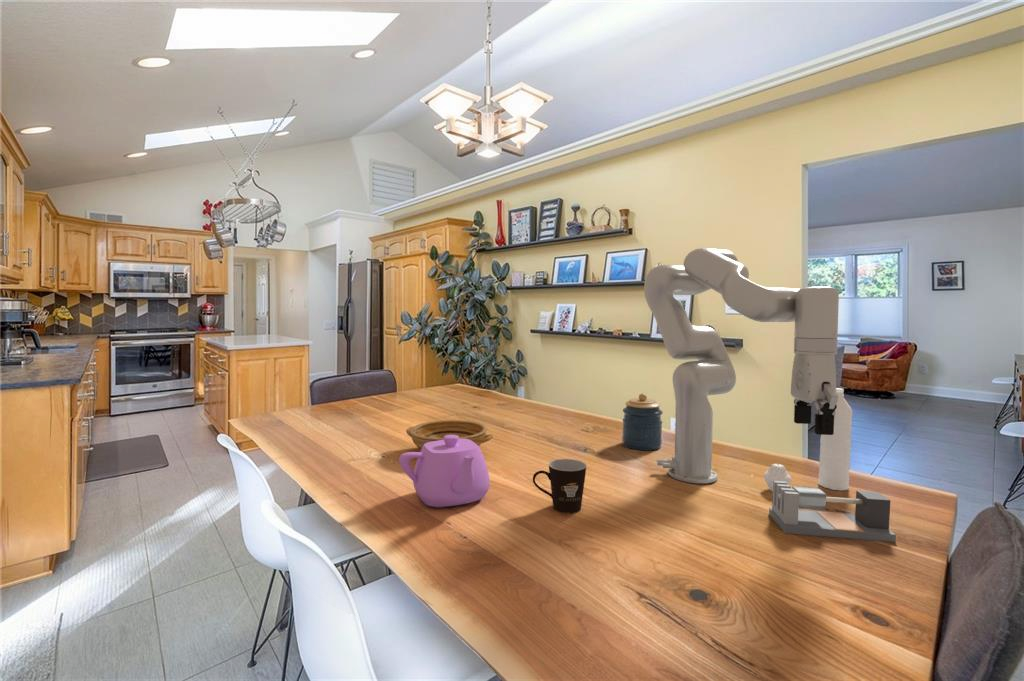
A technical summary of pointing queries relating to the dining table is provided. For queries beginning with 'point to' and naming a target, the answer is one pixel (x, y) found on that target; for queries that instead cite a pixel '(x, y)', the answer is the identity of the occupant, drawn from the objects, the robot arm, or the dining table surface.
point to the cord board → (833, 516)
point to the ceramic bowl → (448, 431)
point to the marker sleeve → (811, 498)
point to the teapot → (448, 472)
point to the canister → (642, 424)
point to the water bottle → (837, 448)
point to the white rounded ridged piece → (776, 475)
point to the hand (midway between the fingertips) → (812, 428)
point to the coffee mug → (565, 484)
